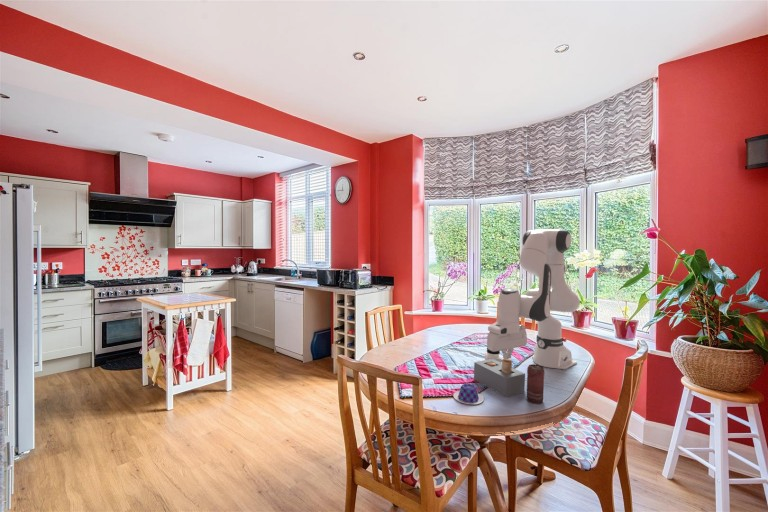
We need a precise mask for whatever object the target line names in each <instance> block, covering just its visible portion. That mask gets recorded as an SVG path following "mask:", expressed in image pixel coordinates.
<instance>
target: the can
mask: <svg viewBox="0 0 768 512" xmlns="http://www.w3.org/2000/svg"><path fill="white" fill-rule="evenodd" d="M526 369H527V372H526V374H527V375H526V377H527V379H526V401H528V403H529V402H530V403H531V404H535V405H540V404H543V402H544V388H545V387H544V386H545V369H544V366H541V365H538V364H536V363H535V364H529V365H528V366H527V368H526Z"/></svg>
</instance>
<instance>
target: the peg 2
mask: <svg viewBox="0 0 768 512" xmlns="http://www.w3.org/2000/svg"><path fill="white" fill-rule="evenodd" d="M501 359H502V362H501V363H502V373H504V374H511V373H512V368H513V366H512V365H513V361H512V359H511V358H509V359H504V358H501Z"/></svg>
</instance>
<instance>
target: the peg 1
mask: <svg viewBox="0 0 768 512" xmlns="http://www.w3.org/2000/svg"><path fill="white" fill-rule="evenodd" d="M487 365H488V366H490V367H494V366H496V364H495V363H492V362H488V363H487Z"/></svg>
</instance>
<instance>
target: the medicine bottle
mask: <svg viewBox="0 0 768 512" xmlns="http://www.w3.org/2000/svg"><path fill="white" fill-rule="evenodd" d="M488 359H494V360H496V361H499V362H501V363H502V359H503V358H502V356H501V351H495V352H493V351H491V350H489V349H488V348H487V347H486V352H484V360H488Z"/></svg>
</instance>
